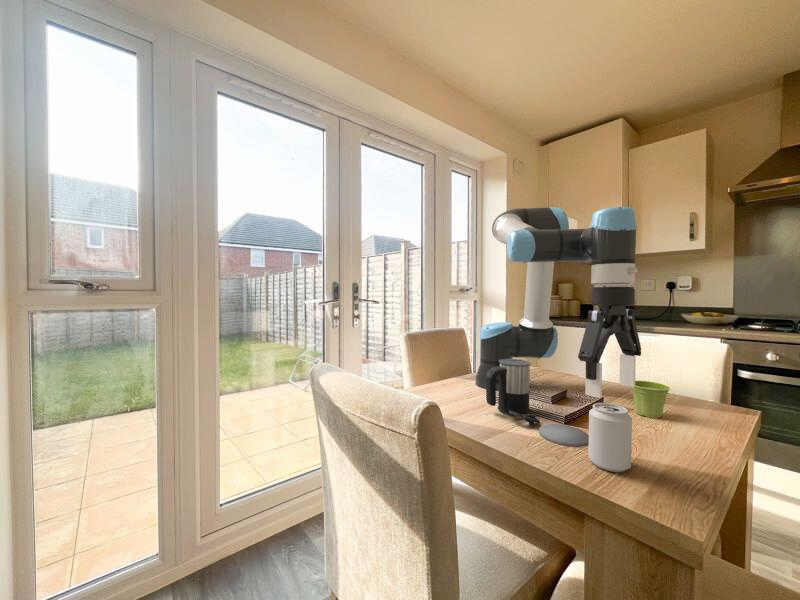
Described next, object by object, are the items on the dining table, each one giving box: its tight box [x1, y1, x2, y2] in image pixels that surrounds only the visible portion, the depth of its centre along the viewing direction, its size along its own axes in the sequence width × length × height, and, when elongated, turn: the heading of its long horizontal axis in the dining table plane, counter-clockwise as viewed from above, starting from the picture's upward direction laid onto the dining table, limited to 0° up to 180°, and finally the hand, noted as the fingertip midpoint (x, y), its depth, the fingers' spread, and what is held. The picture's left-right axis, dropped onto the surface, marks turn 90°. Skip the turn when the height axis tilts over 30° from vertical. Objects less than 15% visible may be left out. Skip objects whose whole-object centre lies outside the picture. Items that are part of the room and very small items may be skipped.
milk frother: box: [485, 358, 541, 426], centre depth 97 cm, size 14×16×15 cm
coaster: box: [539, 423, 589, 447], centre depth 83 cm, size 11×11×1 cm
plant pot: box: [631, 380, 671, 419], centre depth 97 cm, size 9×9×9 cm
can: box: [587, 402, 633, 473], centre depth 70 cm, size 8×8×12 cm
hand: (611, 390), depth 69 cm, fingers open, 13 cm apart
